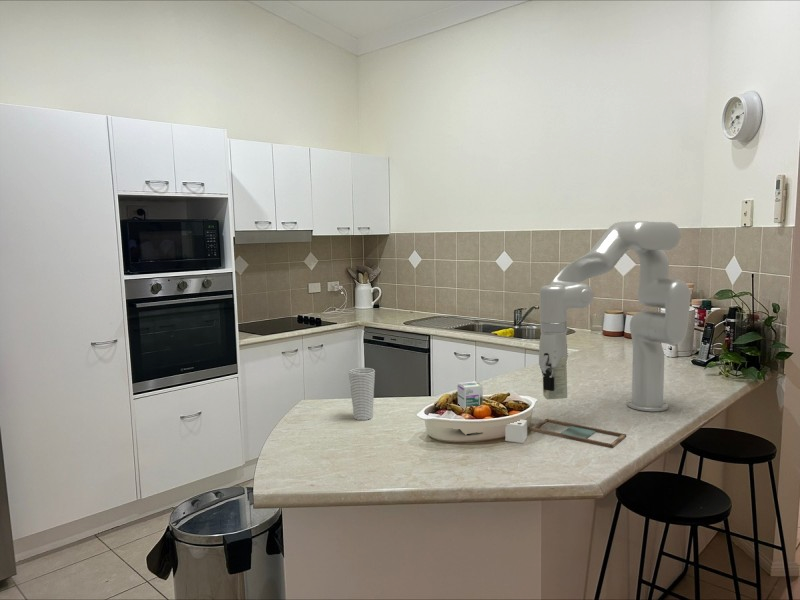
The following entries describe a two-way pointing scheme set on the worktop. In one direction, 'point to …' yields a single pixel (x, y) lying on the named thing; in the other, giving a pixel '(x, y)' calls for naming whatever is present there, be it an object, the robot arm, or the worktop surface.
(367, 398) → the cup
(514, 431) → the die
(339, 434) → the worktop surface
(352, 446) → the worktop surface
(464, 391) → the syrup box
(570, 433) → the wooden frame
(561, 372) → the skincare box
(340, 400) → the worktop surface
